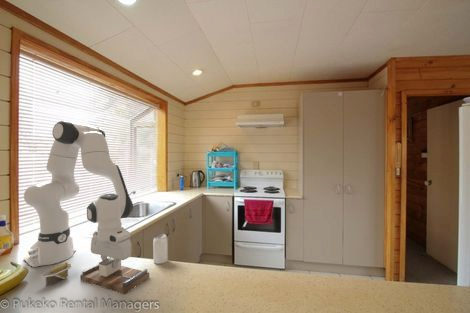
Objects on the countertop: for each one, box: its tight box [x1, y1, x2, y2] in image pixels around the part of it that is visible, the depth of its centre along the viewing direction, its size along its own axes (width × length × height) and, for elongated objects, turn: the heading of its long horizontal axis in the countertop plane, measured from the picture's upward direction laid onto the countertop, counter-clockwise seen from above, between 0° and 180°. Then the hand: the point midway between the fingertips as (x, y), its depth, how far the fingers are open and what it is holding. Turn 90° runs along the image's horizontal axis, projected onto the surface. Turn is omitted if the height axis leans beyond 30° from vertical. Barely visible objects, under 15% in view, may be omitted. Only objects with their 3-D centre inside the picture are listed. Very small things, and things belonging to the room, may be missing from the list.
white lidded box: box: [98, 257, 122, 277], centre depth 91 cm, size 4×7×5 cm, turn 157°
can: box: [152, 233, 169, 265], centre depth 105 cm, size 6×6×12 cm
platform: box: [41, 262, 72, 287], centre depth 89 cm, size 12×18×7 cm, turn 159°
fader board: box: [80, 263, 150, 295], centre depth 90 cm, size 25×12×4 cm, turn 67°
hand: (110, 266), depth 91 cm, fingers closed on white lidded box, 4 cm apart
